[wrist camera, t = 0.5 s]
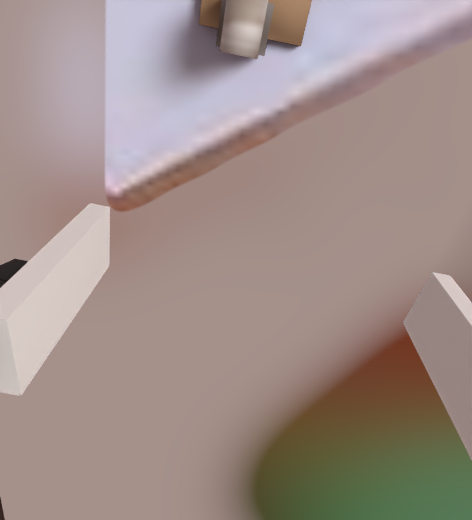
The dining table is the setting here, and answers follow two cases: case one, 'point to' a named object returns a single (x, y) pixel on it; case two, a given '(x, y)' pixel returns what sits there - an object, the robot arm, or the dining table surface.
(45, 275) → the robot arm
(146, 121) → the dining table surface
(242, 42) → the mint panel frame
